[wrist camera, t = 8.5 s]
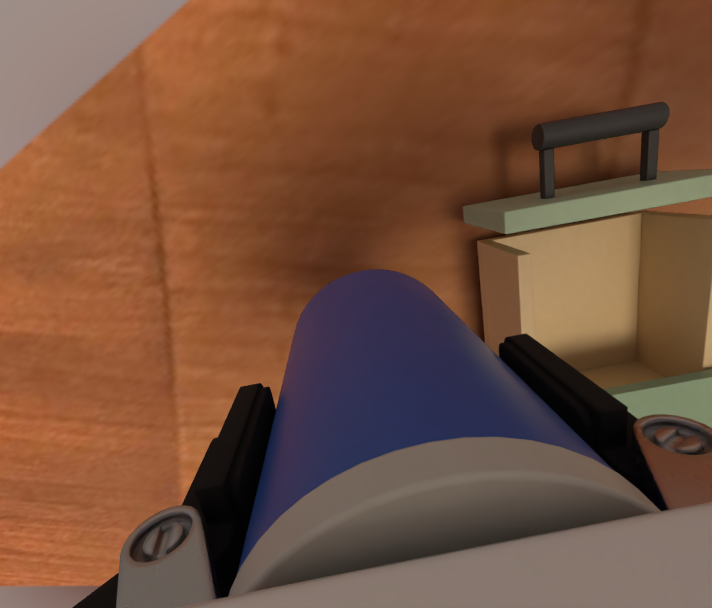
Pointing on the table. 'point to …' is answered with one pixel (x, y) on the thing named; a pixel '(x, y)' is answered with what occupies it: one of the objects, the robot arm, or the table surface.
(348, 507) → the tube
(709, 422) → the cabinet
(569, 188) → the drawer
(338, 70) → the table surface
